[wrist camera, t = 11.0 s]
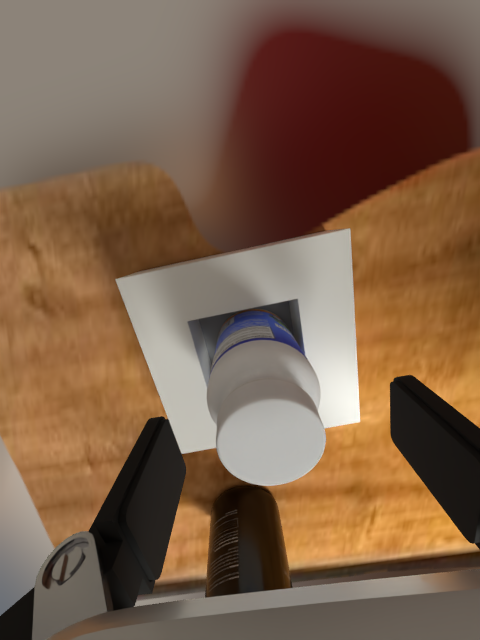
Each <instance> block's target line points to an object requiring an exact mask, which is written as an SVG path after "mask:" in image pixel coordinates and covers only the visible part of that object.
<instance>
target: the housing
mask: <svg viewBox="0 0 480 640" xmlns="http://www.w3.org/2000/svg"><path fill="white" fill-rule="evenodd" d="M115 280H116V283H117V285H118V288H119V290H120V293H121V296H122V298H123V301H124V304H125V306H126V309H127V311H128V314H129V317H130V319H131V322H132V325H133V327H134V330H135V333H136V335H137V338H138V340H139V343H140V346H141V348H142V351H143V354H144V356H145V359H146V361H147V364H148V367H149V369H150V372H151V375H152V377H153V380H154V382H155V385H156V388H157V390H158V393H159V396H160V398H161V401H162V403H163V406H164V409H165V411H166V414H167V417H168V419H169V422H170V425H171V427H172V430H173V432H174V435H175V438H176V440H177V443H178V446H179V448H180V451H181V453H182V454H184V453H190V452H195V451H201V450H206V449H212V448H216V432H217V425H216V424H215V423H214V421H213V419H212V417H211V415H210V412H209V409H208V405H207V387H208V382H209V376H210V372H211V367H212V363H213V358H214V354H215V349H216V344H217V339H218V335H219V332H220V329H221V327H222V326H223V324H224V323H225V322H226V320H227V319H228V318H230V317H231V316H232V315H234V314H235V313H237V312H239V311H242V310H246V309H263V310H267V311H270V312H272V313H274V314H275V315H277V316H278V317H279V318H280V319H281V320H282V321H283V322H284V323H285V324H286V326H287V327H288V329H289V331H290V332H291V334H292V335H293V337H294V338H295V340H296V342H297V343H298V345H299V346H300V348H301V350H302V351H303V353H304V354H305V356H306V357H307V359H308V361H309V362H310V364H311V366H312V367H313V369H314V371H315V373H316V375H317V377H318V380H319V383H320V391H321V399H320V405H319V409H318V413H319V416H320V418H321V421H322V423H323V426H324V428H329V427H335V426H340V425H346V424H351V423H357V422H360V410H359V390H358V370H357V351H356V331H355V311H354V291H353V272H352V252H351V232H350V229H339V230H328V231H322V232H318V233H313V234H308V235H304V236H299V237H295V238H290V239H285V240H281V241H276V242H272V243H267V244H263V245H258V246H253V247H249V248H245V249H240V250H235V251H230V252H226V253H221V254H217V255H212V256H207V257H203V258H198V259H194V260H189V261H184V262H180V263H175V264H171V265H166V266H161V267H157V268H152V269H148V270H143V271H139V272H136V273H133V274H130V275H127V276H124V277H121V278H118V279H115Z"/></svg>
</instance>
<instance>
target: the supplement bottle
mask: <svg viewBox="0 0 480 640" xmlns="http://www.w3.org/2000/svg"><path fill="white" fill-rule="evenodd" d="M288 588H292V582H291V576H290V571H289V565H288V559H287V554H286V548H285V543H284V537H283V531H282V526H281V520H280V515H279V510H278V506H277V503H276V501H275V499H274V498H273V497H272V496H271V495H270V494H269V493H268V492H267V491H265V490H263V489H261V488H258V487H253V486H240V487H235V488H232V489H230V490H227V491H226V492H224V493H223V494H221V495H220V496H219V497H218V498H217V500H216V501H215V503H214V505H213V507H212V512H211V523H210V536H209V550H208V564H207V579H206V593H205V598H207V597H216V596H225V595H234V594H243V593H252V592H260V591H270V590H279V589H288Z"/></svg>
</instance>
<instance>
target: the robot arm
mask: <svg viewBox="0 0 480 640" xmlns="http://www.w3.org/2000/svg"><path fill="white" fill-rule="evenodd" d="M390 423H391V438H392V440H393V442H394V444H395V445H396V447H397V448H398V449H399V451H400V452H401V453H402V455H403V456H404V457H405V458H406V460H407V461H408V462H409V464H410V465H411V466H412V468H413V469H414V470H415V472H416V473H417V474H418V476H419V477H420V478H421V480H422V481H423V482H424V484H425V485H426V486H427V488H428V489H429V490H430V492H431V493H432V494H433V496H434V497H435V498H436V500H437V501H438V502H439V504H440V505H441V506H442V508H443V509H444V510H445V512H446V513H447V514H448V516H449V517H450V518H451V520H452V521H453V522H454V524H455V525H456V526H457V528H458V529H459V530H460V532H461V533H462V534H463V536H464V537H465V538H466V539H467V540H468V541H469V542H470V543H475V544H476V545H477V547H478V548H479V549H480V428H479V427H477V426H476V425H475V424H473V423H472V422H471V421H470V420H468V419H467V418H466V417H465V416H463V415H462V414H461V413H459V412H458V411H457V410H456V409H454V408H453V407H452V406H451V405H449V404H448V403H447V402H446V401H444V400H443V399H442V398H440V397H439V396H438V395H437V394H435V393H434V392H433V391H432V390H430V389H429V388H428V387H426V386H425V385H424V384H423V383H421V382H420V381H419V380H418V379H416V378H415V377H414V376H412V375H407V376H401V377H396V378H394V382H391V383H390ZM185 475H186V466H185V463H184V460H183V457H182V454H181V452H180V449H179V446H178V444H177V441H176V438H175V435H174V433H173V430H172V427H171V425H170V422H169V420H168V419H165V418H164V417H156V418H150V419H149V420H148V421H147V423H146V425H145V427H144V429H143V431H142V432H141V434H140V436H139V438H138V440H137V442H136V444H135V446H134V447H133V449H132V451H131V453H130V455H129V457H128V459H127V460H126V462H125V464H124V466H123V468H122V470H121V471H120V473H119V475H118V477H117V479H116V481H115V483H114V485H113V487H112V488H111V490H110V492H109V494H108V496H107V498H106V500H105V502H104V503H103V505H102V507H101V509H100V511H99V513H98V515H97V517H96V518H95V520H94V522H93V524H92V526H91V528H90V530H89V532H88V531H85V532H79V533H76V534H73V535H72V536H70V537H69V538H67V539H65V540H64V541H63V542H62V543H61V544H59V545H58V546H57V547H56V548H55V549H54V550H53V552H52V553H51V554H50V555H49V556H48V557H47V559H46V560H45V562H44V563H43V565H42V566H41V568H40V571H39V573H38V575H37V578H36V583H35V587H34V588H33V589H32V590H31V591H29V592H28V593H27V594H26V595H24V596H23V597H22V598H21V599H20V600H19V601H17V602H16V603H15V604H14V605H13V606H12V607H10V608H9V609H8V610H7V611H6V612H5V613H3V614H2V615H1V616H0V640H480V569H477V570H465V571H454V572H444V573H434V574H425V575H414V576H404V577H394V578H384V579H373V580H364V581H355V582H345V583H335V584H326V585H316V586H308V587H298V588H288V589H279V590H270V591H260V592H252V593H243V594H234V595H225V596H216V597H207V598H199V599H190V600H181V601H173V602H166V603H159V604H152V605H145V606H137V607H134V606H135V602H136V599H137V596H138V595H142V594H151V593H152V591H153V588H154V584H155V580H157V579H159V577H160V575H161V572H162V568H163V564H164V560H165V556H166V552H167V548H168V544H169V540H170V536H171V532H172V528H173V524H174V520H175V515H176V511H177V507H178V503H179V499H180V495H181V491H182V487H183V483H184V479H185Z"/></svg>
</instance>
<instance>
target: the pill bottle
mask: <svg viewBox="0 0 480 640" xmlns="http://www.w3.org/2000/svg"><path fill="white" fill-rule="evenodd" d="M320 399H321V391H320V383H319V380H318V377H317V375H316V373H315V371H314V369H313V367H312V366H311V364H310V362H309V361H308V359H307V357H306V356H305V354H304V353H303V351H302V350H301V348H300V346H299V345H298V343H297V342H296V340H295V338H294V337H293V335H292V334H291V332H290V331H289V329H288V327H287V326H286V324H285V323H284V322H283V321H282V320H281V319H280V318H279V317H278V316H277V315H275V314H274V313H272V312H270V311H267V310H263V309H246V310H242V311H239V312H237V313H235V314H234V315H232V316H231V317H230V318H228V319H227V320H226V322H225V323H224V324H223V326H222V327H221V329H220V332H219V335H218V339H217V344H216V349H215V354H214V358H213V363H212V367H211V372H210V376H209V382H208V387H207V405H208V409H209V412H210V415H211V417H212V419H213V421H214V423H215V424H216V425H217V432H216V448H217V453H218V456H219V458H220V460H221V462H222V464H223V465H224V466H225V468H226V469H227V470H228V471H229V472H230V473H231V474H233V475H234V476H236V477H237V478H239V479H241V480H243V481H245V482H248V483H251V484H256V485H263V486H273V485H280V484H285V483H288V482H291V481H294V480H296V479H298V478H300V477H302V476H303V475H305V474H306V473H308V472H309V471H310V470H311V469H312V468H313V467H314V466H315V465H316V464H317V463H318V461H319V460H320V458H321V456H322V454H323V452H324V448H325V442H326V435H325V430H324V426H323V423H322V421H321V418H320V416H319V413H318V409H319V405H320Z"/></svg>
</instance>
